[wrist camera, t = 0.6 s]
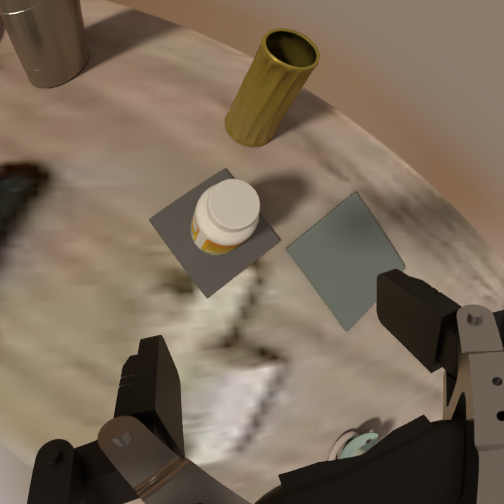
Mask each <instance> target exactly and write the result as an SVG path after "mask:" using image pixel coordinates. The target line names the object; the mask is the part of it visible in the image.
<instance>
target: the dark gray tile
mask: <svg viewBox="0 0 504 504" xmlns="http://www.w3.org/2000/svg"><path fill="white" fill-rule="evenodd" d="M227 179H233V178H232V176H231V175H230V174H229V173H228V171H227V170H226V169H223V170H222V171H220V172H218V173H217V174H215V175H214V176H212V177H211V178H209V179H208V180H206V181H205V182H203V183H201V184H200V185H198V186H197V187H195V188H194V189H192V190H191V191H189V192H188V193H186V194H185V195H183V196H182V197H180V198H179V199H177V200H176V201H175V202H173V203H172V204H170V205H169V206H167V207H166V208H164V209H163V210H162V211H160V212H159V213H157V214H156V215H154V216H153V217H152V218H150V219H149V221H150V222H151V224H152V225H153V226H154V228H155V229H156V231H157V232H158V233H159V235H160V236H161V238H162V239H163V240H164V242H165V243H166V245H167V246H168V247H169V249H170V250H171V251H172V253H173V254H174V255H175V257H176V258H177V260H178V261H179V262H180V264H181V265H182V266H183V268H184V269H185V270H186V272H187V273H188V274H189V276H190V277H191V278H192V280H193V281H194V282H195V284H196V285H197V286H198V287H199V289H200V290H201V291H202V293H203V294H204V295H205V297H206V298H208V297H210V296H211V295H212V294H214V293H215V292H216V291H217V290H219V289H220V288H221V287H223V286H224V285H225V284H226V283H228V282H229V281H230V280H231V279H233V278H234V277H235V276H237V275H238V274H239V273H240V272H242V271H243V270H244V269H245V268H247V267H248V266H249V265H251V264H252V263H253V262H254V261H256V260H257V259H258V258H259V257H261V256H262V255H263V254H265V253H266V252H267V251H268V250H270V249H271V248H272V247H273V246H275V245H276V244H277V243H278V242H280V240H279V238H278V237H277V236H276V234H275V233H274V232H273V230H272V229H271V228H270V226H269V225H268V224H267V222H266V221H265V220H264V218H263V217H262V216H261V214H260V213H259V220H258V224H257V226H256V229H255V230H254V232H253V233H252V235H251V236H250V237H249V238H248V239H247V240H245V241H244V242H243V243H241V244H240V245H239V246H237V247H236V248H235V249H234V250H232V251H230V252H229V253H226V254H223V255H211V254H208V253H205V252H204V251H202V250H201V249H199V248H198V247H197V246H196V244H195V243H194V241H193V239H192V236H191V222H192V218H193V215H194V212H195V208H196V205H197V202H198V200H199V198H200V197H201V195H202V194H203V193H204V192H205V191H206V190H207V189H208V188H210V187H211V186H213V185H215V184H218V183H220V182H222V181H224V180H227Z"/></svg>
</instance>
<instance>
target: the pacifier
mask: <svg viewBox="0 0 504 504" xmlns="http://www.w3.org/2000/svg"><path fill="white" fill-rule="evenodd" d="M350 438H354V439H352V440H351V441H350V442H349V443H348V444H347V445H346V446H345V448H344V449H343V451H342V453H341V456H340V459H343V458H348V457H353V456H358V455H361V454H363V453H365V452H366V451H368V450H369V449H370V448H372V447H373V446H374V445H375V444H376V442H377V440H378V435H377V434H376V433H373V432H369V433H364V434H361V435H358V434H357V433H356V432H354V431H350V432H347V433H345V434H344V435H342V436H341V437H340V438H339V439H338V440H337V442H336V443H335V445H334V446H333V448H332V450H331V452H330V455H329V460H328V461H330V460H335V458H336V455H337V452H338V450H339V448H340V447H341V446H342V444H343V443H344V442H345V441H346V440H348V439H350ZM368 439H371V440H370V441H369V442H368V443H366V441H367V440H368Z"/></svg>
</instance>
